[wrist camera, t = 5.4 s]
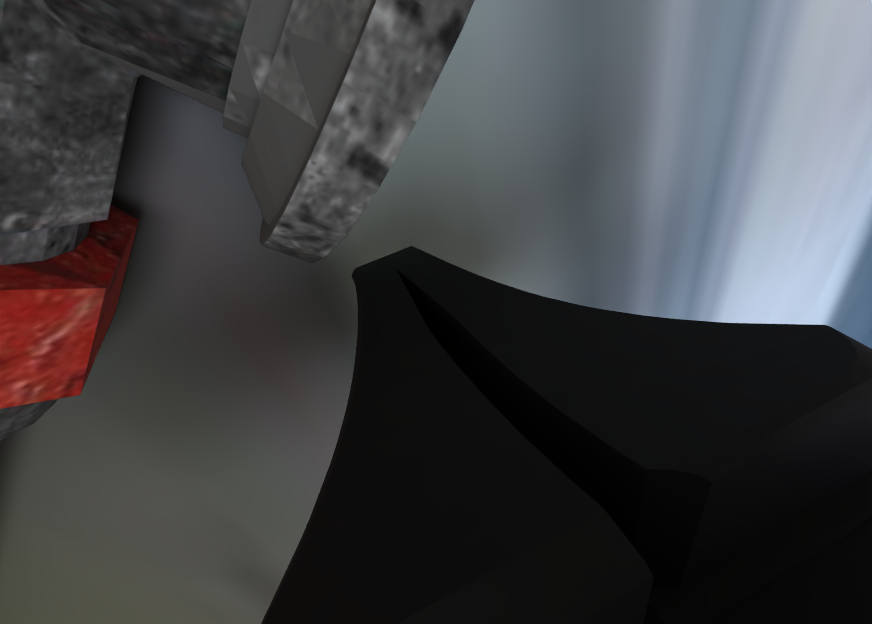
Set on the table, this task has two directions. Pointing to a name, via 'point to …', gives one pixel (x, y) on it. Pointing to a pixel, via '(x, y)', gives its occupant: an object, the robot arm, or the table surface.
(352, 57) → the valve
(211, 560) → the table surface
